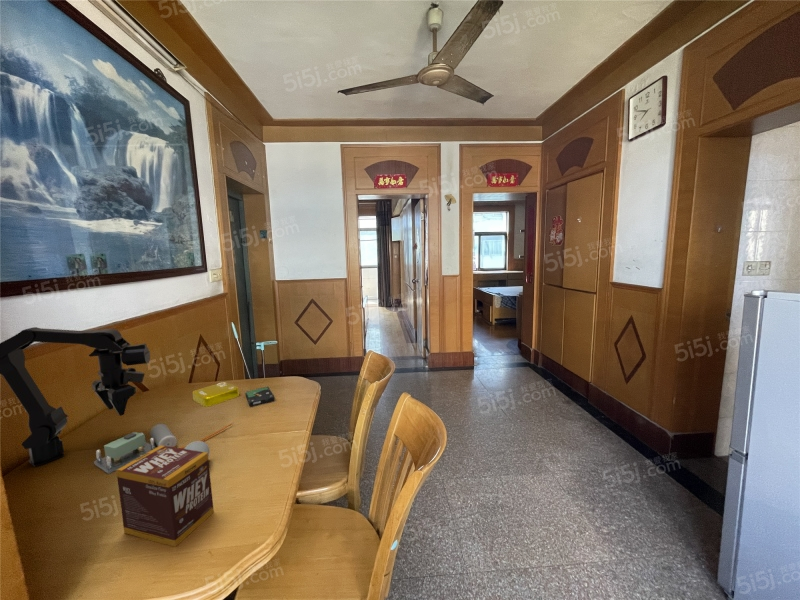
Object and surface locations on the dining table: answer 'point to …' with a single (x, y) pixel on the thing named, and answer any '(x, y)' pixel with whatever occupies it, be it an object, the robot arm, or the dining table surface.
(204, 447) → the ceramic mug
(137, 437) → the green rectangular block
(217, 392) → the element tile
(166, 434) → the motor
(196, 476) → the supplement box
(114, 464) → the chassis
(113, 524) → the dining table surface
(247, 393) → the disk drive
